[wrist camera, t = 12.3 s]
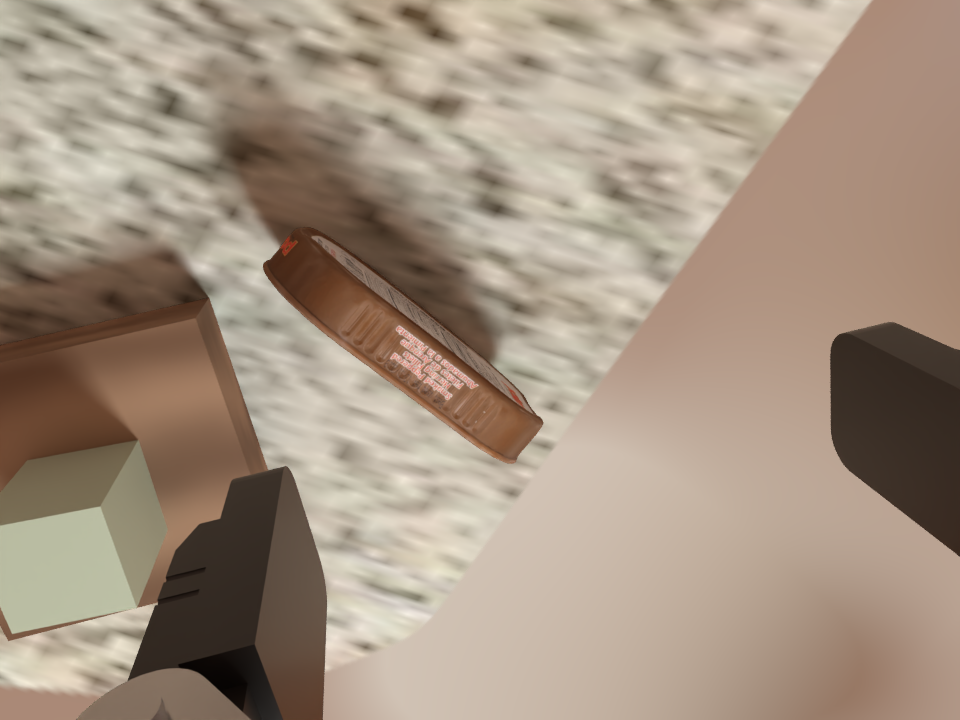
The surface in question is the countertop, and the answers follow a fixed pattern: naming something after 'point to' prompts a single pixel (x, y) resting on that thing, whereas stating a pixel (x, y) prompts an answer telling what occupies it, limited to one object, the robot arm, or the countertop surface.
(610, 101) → the countertop surface
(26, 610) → the sage block
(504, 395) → the tin
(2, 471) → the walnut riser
